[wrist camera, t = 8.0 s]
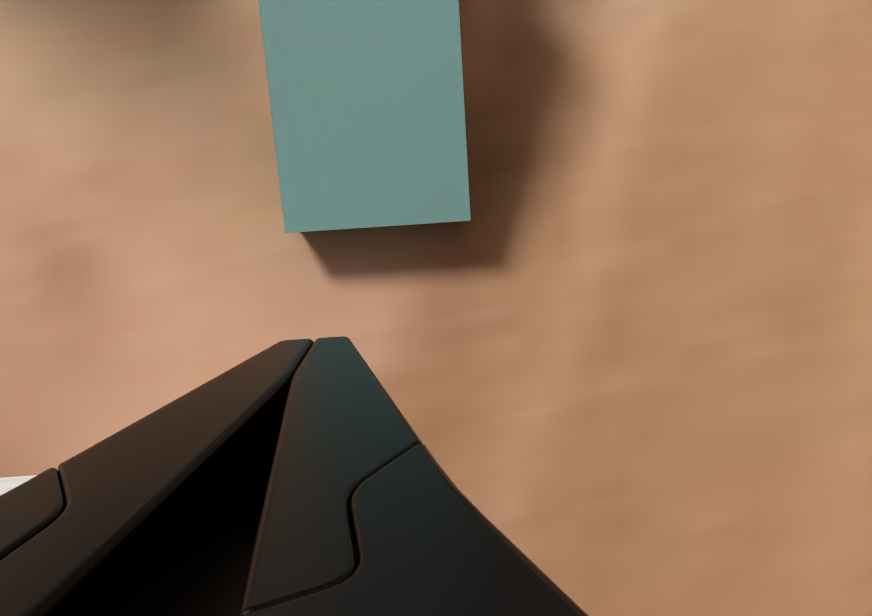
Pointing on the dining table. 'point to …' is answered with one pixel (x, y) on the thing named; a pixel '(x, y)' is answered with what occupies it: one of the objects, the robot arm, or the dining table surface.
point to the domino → (367, 112)
